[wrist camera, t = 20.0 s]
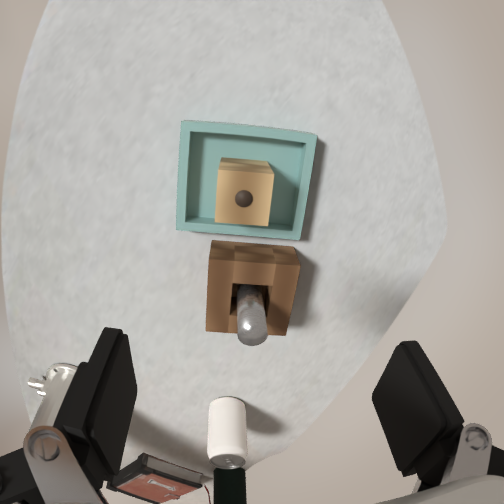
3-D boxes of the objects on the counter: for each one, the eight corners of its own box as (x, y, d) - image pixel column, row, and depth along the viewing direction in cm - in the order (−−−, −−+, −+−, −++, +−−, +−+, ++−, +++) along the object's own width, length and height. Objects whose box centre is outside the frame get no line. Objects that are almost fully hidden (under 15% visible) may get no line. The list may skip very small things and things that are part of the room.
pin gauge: (235, 292, 41) (236, 344, 32) (237, 271, 40) (239, 322, 31) (259, 293, 41) (265, 346, 32) (262, 273, 40) (269, 324, 31)
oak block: (218, 200, 36) (214, 222, 30) (221, 157, 34) (217, 170, 28) (262, 203, 37) (268, 226, 30) (266, 161, 34) (274, 174, 28)
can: (241, 393, 51) (243, 451, 41) (248, 413, 54) (251, 468, 43) (204, 397, 52) (201, 455, 41) (215, 417, 55) (213, 471, 44)
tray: (179, 222, 38) (175, 230, 35) (184, 120, 32) (181, 121, 30) (295, 231, 39) (299, 240, 37) (311, 133, 34) (317, 135, 32)
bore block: (208, 307, 43) (205, 331, 39) (211, 240, 39) (208, 259, 34) (280, 312, 44) (285, 335, 40) (293, 246, 40) (300, 265, 35)
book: (160, 493, 75) (158, 506, 71) (108, 474, 70) (106, 488, 65) (205, 473, 67) (204, 489, 63) (143, 451, 62) (141, 468, 57)
